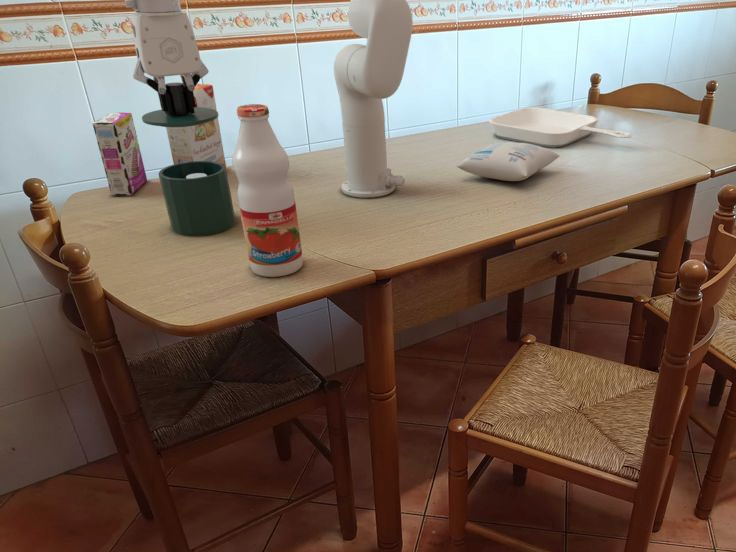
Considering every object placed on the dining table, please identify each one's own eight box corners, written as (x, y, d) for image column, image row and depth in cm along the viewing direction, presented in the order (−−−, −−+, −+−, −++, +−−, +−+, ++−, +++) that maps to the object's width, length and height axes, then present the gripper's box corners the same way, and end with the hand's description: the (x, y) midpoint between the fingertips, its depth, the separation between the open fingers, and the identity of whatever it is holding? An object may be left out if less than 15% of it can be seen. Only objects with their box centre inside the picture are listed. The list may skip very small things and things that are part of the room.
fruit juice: (297, 253, 126) (276, 99, 111) (308, 272, 118) (287, 110, 104) (246, 261, 122) (217, 103, 108) (255, 282, 115) (225, 115, 100)
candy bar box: (133, 196, 152) (114, 123, 143) (111, 196, 152) (90, 123, 143) (149, 181, 162) (132, 111, 153) (128, 181, 161) (109, 111, 152)
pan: (527, 120, 218) (528, 105, 216) (648, 140, 197) (650, 125, 195) (481, 136, 200) (481, 121, 197) (609, 161, 179) (611, 144, 176)
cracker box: (199, 186, 158) (180, 94, 147) (177, 184, 159) (156, 93, 148) (229, 169, 170) (213, 83, 159) (207, 168, 171) (190, 82, 160)
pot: (245, 216, 142) (236, 163, 136) (215, 238, 131) (204, 181, 125) (193, 212, 144) (181, 159, 138) (159, 233, 134) (145, 177, 127)
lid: (232, 115, 131) (226, 79, 127) (195, 131, 120) (187, 92, 116) (170, 111, 133) (162, 76, 130) (127, 127, 122) (118, 89, 118)
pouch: (495, 131, 174) (456, 145, 159) (561, 143, 167) (528, 159, 152) (493, 161, 179) (455, 178, 163) (558, 174, 171) (524, 193, 156)
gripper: (113, 8, 109) (140, 123, 119) (211, 4, 118) (229, 111, 128) (101, 5, 114) (128, 115, 124) (196, 1, 123) (215, 104, 133)
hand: (179, 112), depth 126 cm, fingers closed on lid, 3 cm apart
